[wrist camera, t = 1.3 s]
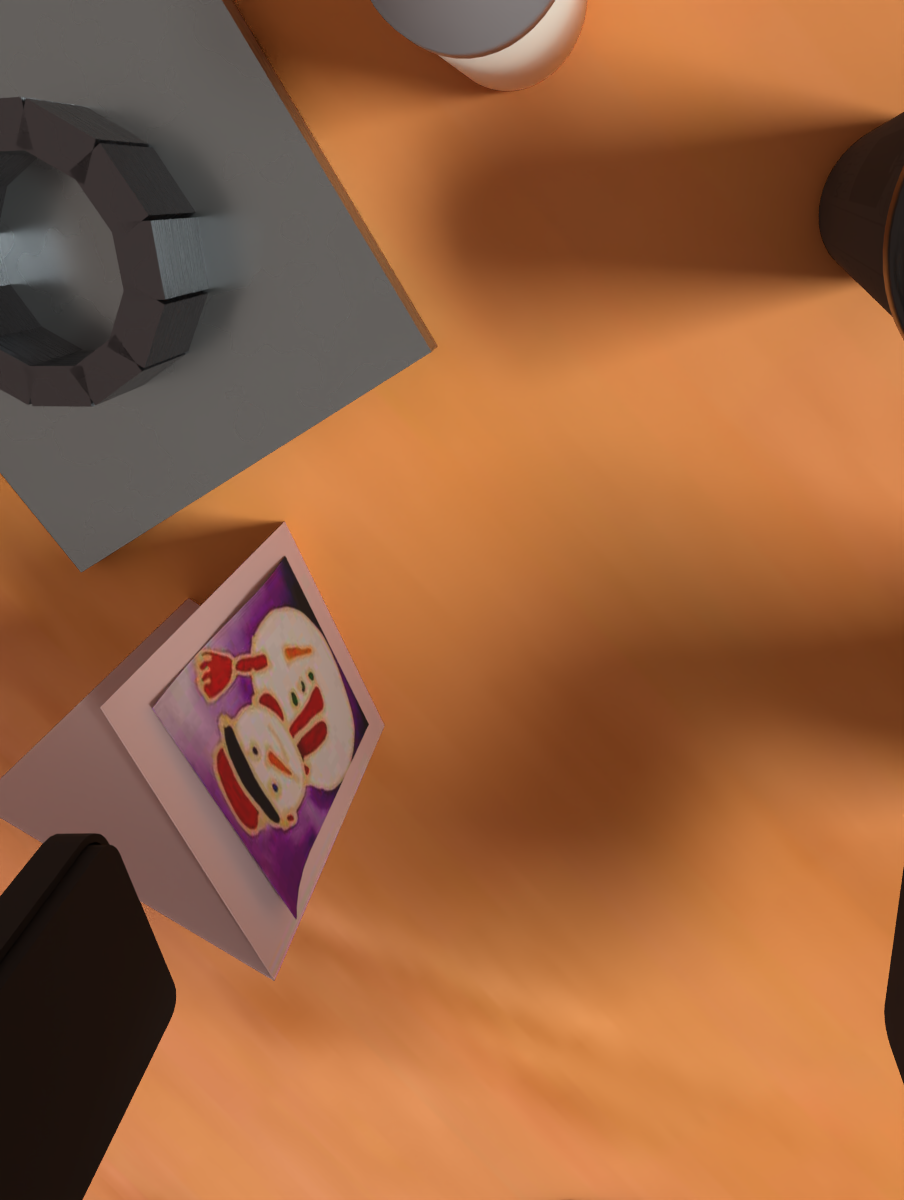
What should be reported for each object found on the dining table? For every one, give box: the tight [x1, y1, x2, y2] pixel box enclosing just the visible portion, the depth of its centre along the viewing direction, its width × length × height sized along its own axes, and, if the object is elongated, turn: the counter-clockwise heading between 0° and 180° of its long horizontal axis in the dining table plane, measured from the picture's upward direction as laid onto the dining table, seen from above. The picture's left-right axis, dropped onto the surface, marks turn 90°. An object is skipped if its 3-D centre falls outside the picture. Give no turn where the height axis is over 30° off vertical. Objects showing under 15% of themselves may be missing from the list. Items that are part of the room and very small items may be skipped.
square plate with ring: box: [0, 0, 437, 572], centre depth 31 cm, size 20×20×5 cm
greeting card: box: [0, 522, 385, 980], centre depth 33 cm, size 11×7×15 cm, turn 21°
